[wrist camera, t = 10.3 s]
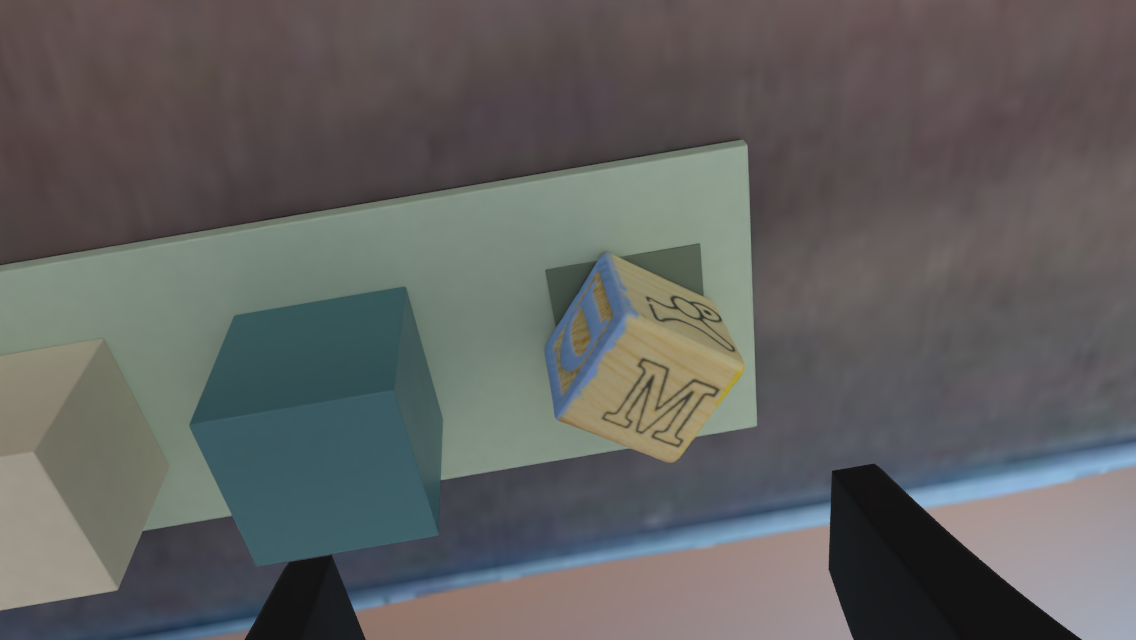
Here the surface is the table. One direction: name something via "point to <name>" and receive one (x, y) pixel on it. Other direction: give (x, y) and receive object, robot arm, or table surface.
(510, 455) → the word mat
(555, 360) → the alphabet block
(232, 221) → the table surface
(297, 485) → the teal cube
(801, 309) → the table surface
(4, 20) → the table surface
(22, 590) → the beige cube block
